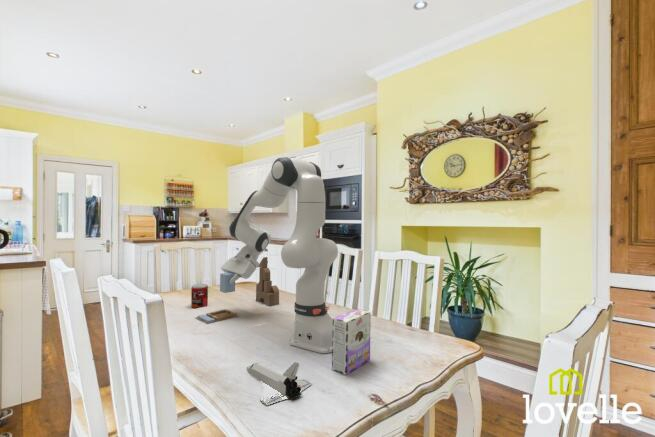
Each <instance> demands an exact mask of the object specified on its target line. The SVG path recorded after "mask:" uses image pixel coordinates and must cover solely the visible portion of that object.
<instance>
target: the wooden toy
mask: <svg viewBox="0 0 655 437" xmlns="http://www.w3.org/2000/svg"><path fill="white" fill-rule="evenodd" d="M259 264H260V265H259V267H258V268H259V270H258V271H259V276H258V278H259V279H258V283H257V284H256V286H255V289H256V290H255V302H258V303H265V306H268V307H274V306H277V305H279V304H280V289H279V287H278V286H277V285H273V281H272V280H271V270H270V268H269V267H268V256H267V257H266V256H265V257H264V256H263V257H262V259H261V260H260V261H259Z"/></svg>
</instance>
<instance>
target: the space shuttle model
mask: <svg viewBox="0 0 655 437" xmlns="http://www.w3.org/2000/svg"><path fill="white" fill-rule="evenodd" d="M299 368H300V364H299V363H298V362H296V361H294V362H293V364H291V365H290V367H288V369H287V370H286V371H284V372H283V374H281V373H278V372H277V371H276V370H275V371H274V370H273V369H270V368H268V367H267V366H264V365H262V364H260V363H257V362H255V363H252V364H251V365H248V366H247V367H246V371H247V373H249V375H251V377H253V378H255V379H256V378H257V379H256V380H258V381H259V382H260V381H262V382H263V383H265V384H267V385H269V386H270V387H272V388H273V389H275V390H277V391H278V392H280V393H281V395H283V396H281V395H280V396H281V397H284V396H286V397H287V398H289V399H288V400H293V399H296V398H298V397H301V395H303V393H302V392H301V393H300V391H301V390H303V391H305V390H306V389H307V388H309V387H310V386H312V383H311V382H310V381H307V380H305V379H298V376H296V375H297V372H298V370H299ZM304 389H305V390H304ZM277 394H278V393H277ZM277 394H275V395H277ZM278 395H279V394H278ZM278 395H277V396H275V397H274V398H272V397H273V396H272V397H271V398H270V399H269V398H268V397H267V398H268V399H269V400H268V399H266V401H265V402H264V399H263V400H262V402H263V403H264V404H265V406H266V405H267V406H270V404H271V405H273V403H274V404H276V402H277V403H279V402H278V401H280V402H283V401H282V398H281V397H280V396H278ZM263 398H264V397H263ZM268 401H269V402H268ZM262 402H261V403H262ZM263 403H262V404H263ZM266 403H267V404H266ZM264 404H263V405H264Z"/></svg>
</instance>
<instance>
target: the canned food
mask: <svg viewBox="0 0 655 437" xmlns="http://www.w3.org/2000/svg"><path fill="white" fill-rule="evenodd" d="M190 289H191V294H190V295H191V300H190V302H191V303H190V304H191V308H192V309H195V310H196V309H200V308H206V307H208V304H209V302H208V301H209V299H208V297H209V293H208V292H209V286H208V283H207V284H206V283H198V284H192V285H191V288H190Z"/></svg>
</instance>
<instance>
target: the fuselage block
mask: <svg viewBox="0 0 655 437" xmlns="http://www.w3.org/2000/svg"><path fill="white" fill-rule="evenodd" d="M234 275H235V274H234V273H231V272H229V273H225V272H224V273H222V272H221V273H220V275H219V292H222V293H224V294H227V293H233V292H236V281H234V282H233V284H230V283H229V282H228V281H229V279H230V278H233V277H234Z"/></svg>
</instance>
